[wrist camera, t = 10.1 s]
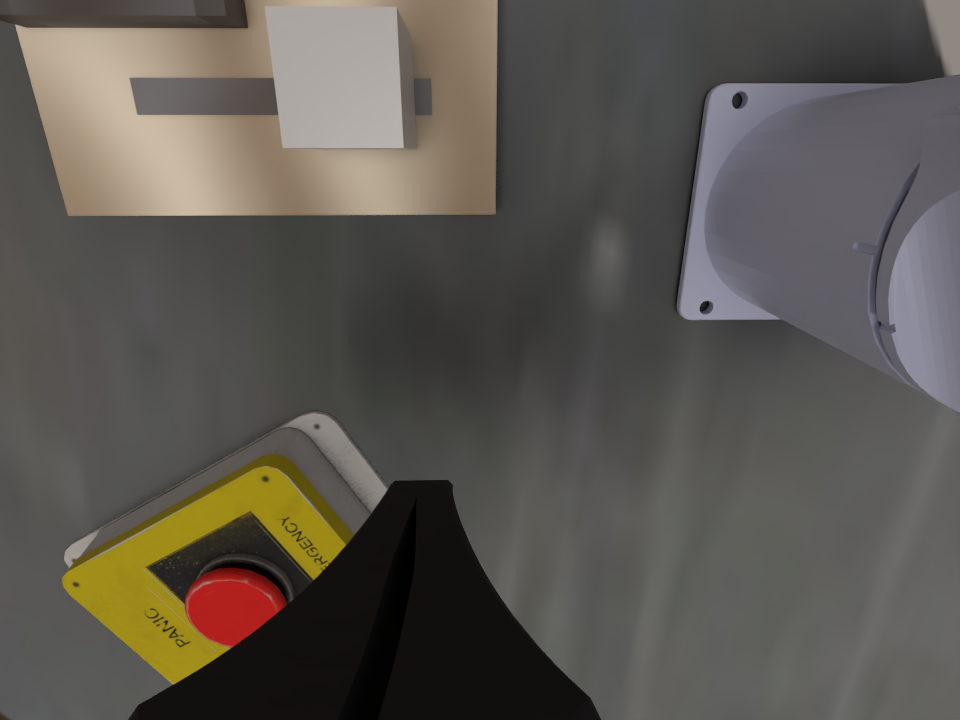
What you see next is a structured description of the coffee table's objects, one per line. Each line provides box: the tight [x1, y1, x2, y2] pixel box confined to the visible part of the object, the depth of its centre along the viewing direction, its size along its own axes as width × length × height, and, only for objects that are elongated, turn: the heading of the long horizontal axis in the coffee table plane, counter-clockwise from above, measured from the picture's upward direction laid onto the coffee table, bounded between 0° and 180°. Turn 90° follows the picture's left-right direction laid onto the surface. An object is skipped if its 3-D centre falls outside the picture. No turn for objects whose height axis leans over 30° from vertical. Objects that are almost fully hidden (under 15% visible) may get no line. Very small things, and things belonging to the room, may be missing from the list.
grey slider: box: [265, 6, 417, 150], centre depth 14 cm, size 3×3×4 cm
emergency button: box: [62, 411, 389, 685], centre depth 23 cm, size 9×4×15 cm
